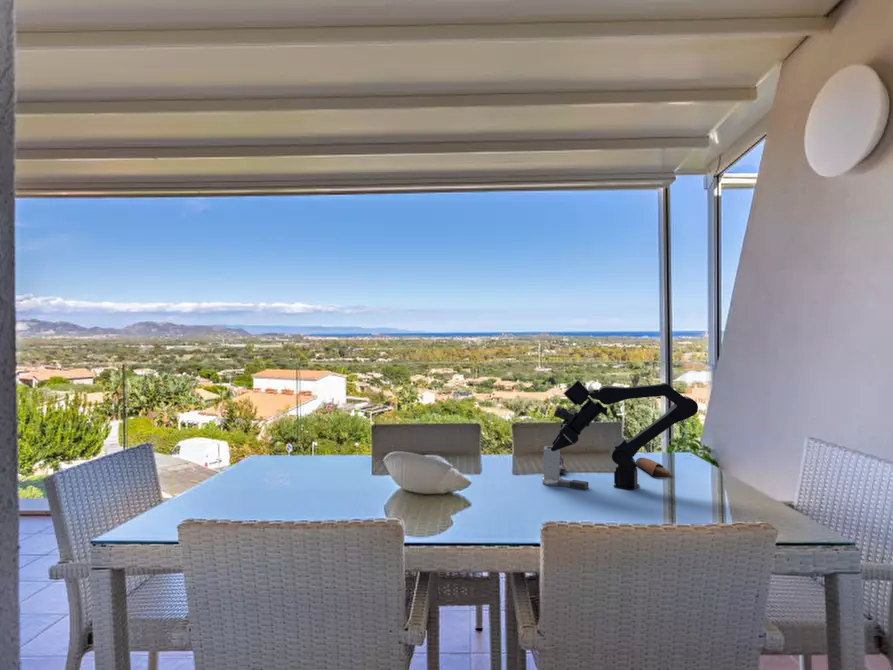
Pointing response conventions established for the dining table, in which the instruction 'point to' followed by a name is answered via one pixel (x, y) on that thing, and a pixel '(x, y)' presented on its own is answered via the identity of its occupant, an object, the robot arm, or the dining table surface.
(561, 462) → the skull
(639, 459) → the sunglasses case
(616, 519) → the dining table surface
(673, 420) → the robot arm
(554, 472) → the socket
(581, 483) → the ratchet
